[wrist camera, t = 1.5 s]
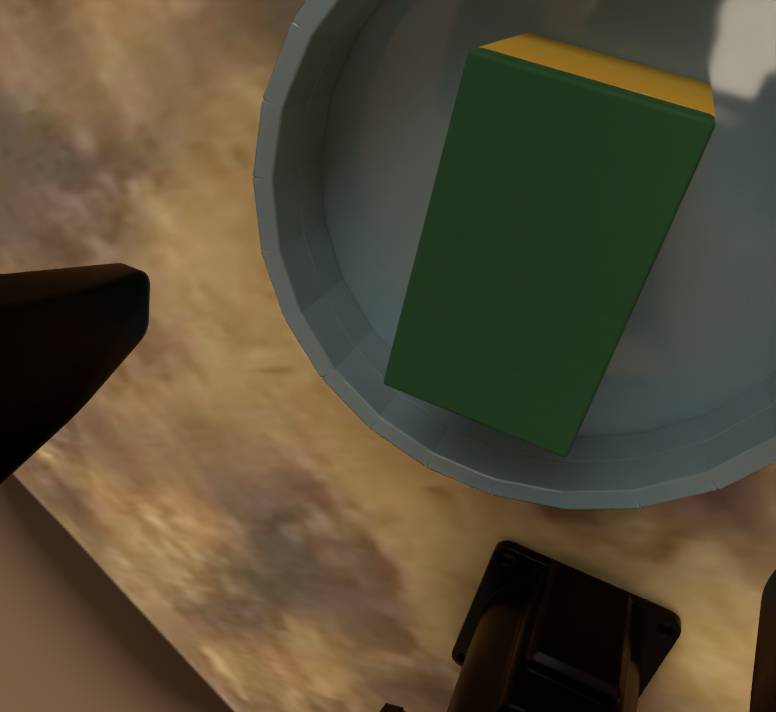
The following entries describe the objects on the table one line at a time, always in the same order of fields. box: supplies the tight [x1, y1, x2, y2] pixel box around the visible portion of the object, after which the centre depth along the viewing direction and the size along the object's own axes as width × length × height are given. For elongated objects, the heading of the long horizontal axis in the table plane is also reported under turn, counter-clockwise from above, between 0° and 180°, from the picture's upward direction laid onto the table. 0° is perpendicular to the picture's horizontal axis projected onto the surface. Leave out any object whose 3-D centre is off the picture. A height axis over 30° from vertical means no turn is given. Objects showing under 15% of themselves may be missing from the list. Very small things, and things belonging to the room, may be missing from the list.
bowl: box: [253, 0, 776, 509], centre depth 18 cm, size 15×15×4 cm
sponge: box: [384, 33, 715, 457], centre depth 17 cm, size 8×4×6 cm, turn 167°
